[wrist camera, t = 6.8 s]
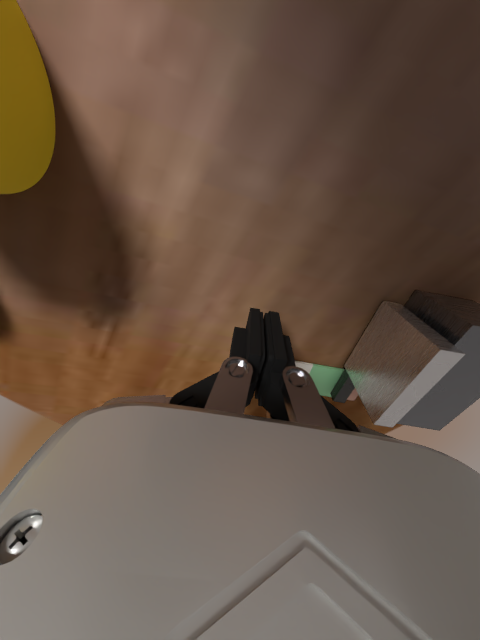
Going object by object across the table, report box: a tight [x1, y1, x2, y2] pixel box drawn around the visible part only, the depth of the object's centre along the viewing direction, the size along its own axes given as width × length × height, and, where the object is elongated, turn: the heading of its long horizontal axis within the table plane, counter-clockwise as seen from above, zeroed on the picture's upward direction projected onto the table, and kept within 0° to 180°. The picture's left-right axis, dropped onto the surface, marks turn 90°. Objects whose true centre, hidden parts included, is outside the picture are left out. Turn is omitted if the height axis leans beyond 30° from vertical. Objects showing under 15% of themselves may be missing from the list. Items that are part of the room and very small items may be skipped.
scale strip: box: [295, 361, 359, 401], centre depth 18 cm, size 3×10×1 cm, turn 81°
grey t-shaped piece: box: [330, 301, 465, 427], centre depth 14 cm, size 9×10×5 cm
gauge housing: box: [397, 290, 480, 430], centre depth 14 cm, size 8×4×4 cm, turn 170°
